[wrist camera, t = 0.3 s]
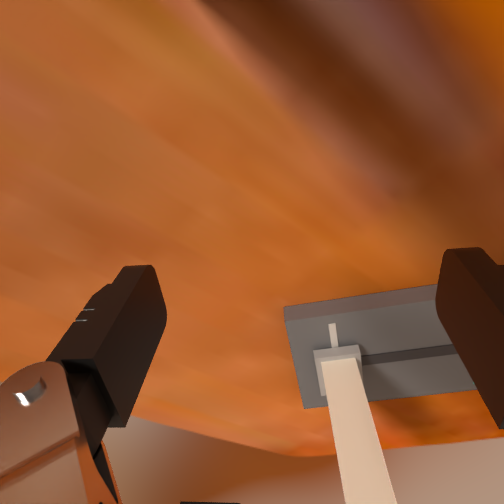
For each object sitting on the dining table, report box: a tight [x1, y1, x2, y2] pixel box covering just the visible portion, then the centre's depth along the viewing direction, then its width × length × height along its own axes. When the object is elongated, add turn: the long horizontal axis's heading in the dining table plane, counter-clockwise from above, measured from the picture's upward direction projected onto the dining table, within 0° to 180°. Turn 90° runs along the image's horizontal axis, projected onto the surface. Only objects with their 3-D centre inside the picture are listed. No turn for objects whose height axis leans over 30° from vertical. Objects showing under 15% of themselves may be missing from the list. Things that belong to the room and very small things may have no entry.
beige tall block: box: [313, 345, 397, 504], centre depth 28 cm, size 5×4×13 cm
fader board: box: [284, 284, 478, 409], centre depth 34 cm, size 12×22×2 cm, turn 102°
